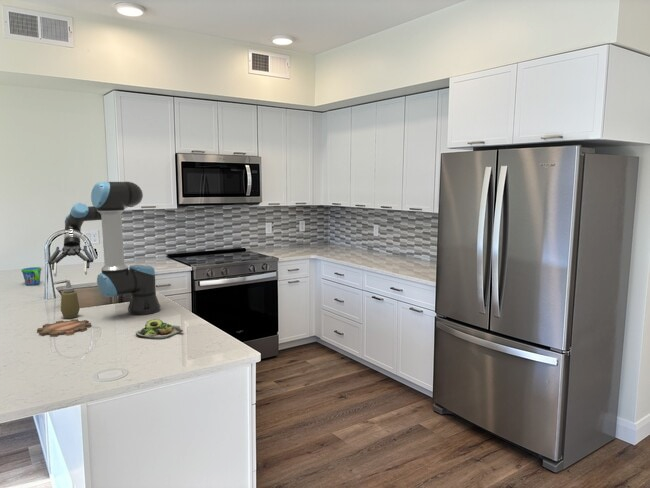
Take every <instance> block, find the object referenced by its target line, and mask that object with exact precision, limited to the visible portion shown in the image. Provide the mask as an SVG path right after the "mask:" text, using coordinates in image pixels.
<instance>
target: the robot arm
mask: <svg viewBox="0 0 650 488" xmlns="http://www.w3.org/2000/svg"><path fill="white" fill-rule="evenodd" d="M143 195H144V194H143V190H142V189H141V187H140V185H138V184H137V183H135V182H132V181H99V182H97V183H95V184H94V186H93V187H92V189H91V193H90V200H91V204H92V206H88V205H87V204H86V203H82V202H76V203H75V204H73V206H72V208H70V212H69V214H68V215H66V217H65V220H64V231H65V230H73V231H71V232H68V233H66V234H64V235H63V247H59V246H57V247H56V248H55V251H54V252H53V253H52V255H51V256H50V257H49V259H47V262H48V265H49V266H51V270H52V271H53V276H54V277H57V273H58V272H57V271H58V263H60V262H61V261H62V260H63V259H64V258H66V257H67V256H69V257H70V256H77V257H79V258H81V260H82V261H84V275H85V276H87V275H88V269H89V268H90V264H91V263H94V258H93V256H92V255H91V253H90V252H89V251H88V249H87V245H84V246H82V247H81V235H80V236H77V235H75V234H69V233H72V232H74V231H77V232H80V233H81V230H82V229H81V227H82V225H83V224H84V222H90V221H92V222H93V221H101V230H102V244H103V245H102V247H103V258H104V259H103V260H104V266H103V267H101V273H98V274H97V276H96V283H97V287H98V290H99V291H100V293H101V295H102V296H104V297H105V298H111V297H118V296H123V295H128V294H130V300H129V303H128V308H127V310H128V314H130V315H134V316H135V315H136V316H142V315H143V316H144V315H152V314H155V313H159V312H160V311H161V305H160V301H159V300H158V296H157V293H156V292H157V288H156V286H157V285H156V272H155V268H154V267H153V266H150V265H142V264H139V265H137V264H136V265H135V264H132V265H130V266H129V267H128V265H126V264H125V254H124V253H125V252H124V242H123V241H124V239H123V224H122V223H123V222H122V221H123V220H122V214H123V212H124V211H125V209H127V208H132V207H135V206H138V205H139V204H140V203H141V202H142V200H143V198H144V196H143ZM81 251H82V252H84V254H85V255H86V256H85V255H84V254H83V253H82V252H81Z"/></svg>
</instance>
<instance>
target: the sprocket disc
mask: <svg viewBox="0 0 650 488" xmlns="http://www.w3.org/2000/svg"><path fill="white" fill-rule="evenodd" d="M91 327H92V323H91V322H90V321H89V320H86V319H85V320H79V319H77V318H76V319H74V318H71V319H70V320H65V321H64V320H63V319H62V320H57V321H55V322H54V323H53V322H52V323H45V324H42V327H37V329H36V333H38V336H41V337H44V336H47V335H48V336H49V337H51V338H52V337H58V336H63V335H65V336H71V335H75V333H77V332H79V333H80V332H81V333H82V332H85V331H87V330H88V328H91Z"/></svg>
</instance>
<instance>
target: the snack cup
mask: <svg viewBox="0 0 650 488" xmlns="http://www.w3.org/2000/svg"><path fill="white" fill-rule="evenodd" d="M20 270H21V273H22V275H23V280H24V283H25V285H26V286H36V285H39V284H40V283H41V273H42V272H41V271H42V267H41V266H40V267H39V266H36V267H35V266H33V267H27V268H26V267H25V268H22V269H20Z"/></svg>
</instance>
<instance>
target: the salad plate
mask: <svg viewBox="0 0 650 488" xmlns="http://www.w3.org/2000/svg"><path fill="white" fill-rule="evenodd" d="M144 326H145V327H143V328H140V329H138V330H136V331H135V335H136V336H137V337H138V338H142V339H153V340H154V339H156V340H157V339H159V340H160V339H167V338H171V337H173V336H174V335H178V333H182V332H184V330H183V329H182V327H181V326H180V325H177V324H176V325H175V324H170V323H167V322H163V320H161V319H159V318H153V319H150V320H148V321H146V322H145V325H144Z"/></svg>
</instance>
